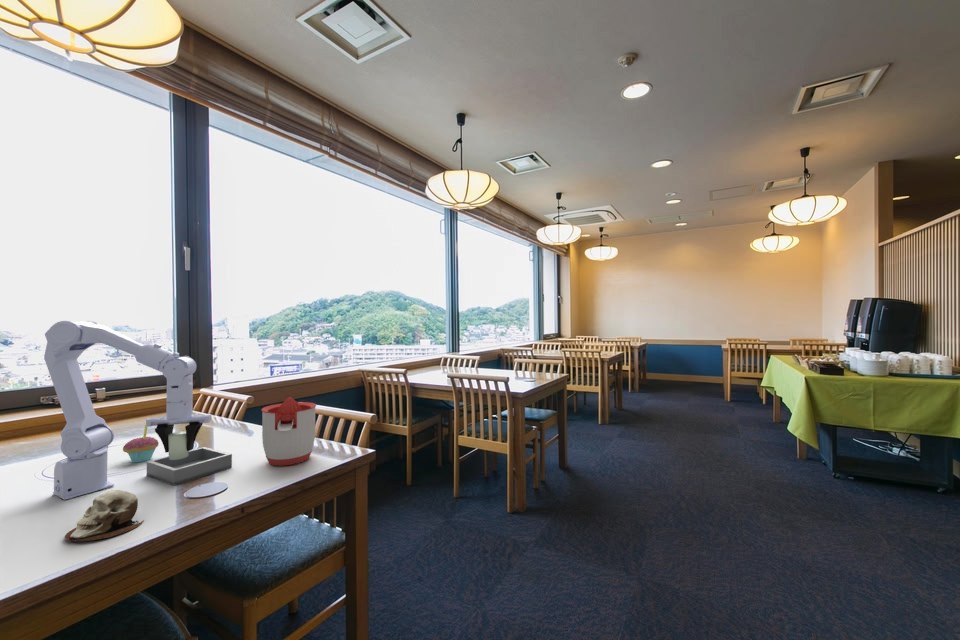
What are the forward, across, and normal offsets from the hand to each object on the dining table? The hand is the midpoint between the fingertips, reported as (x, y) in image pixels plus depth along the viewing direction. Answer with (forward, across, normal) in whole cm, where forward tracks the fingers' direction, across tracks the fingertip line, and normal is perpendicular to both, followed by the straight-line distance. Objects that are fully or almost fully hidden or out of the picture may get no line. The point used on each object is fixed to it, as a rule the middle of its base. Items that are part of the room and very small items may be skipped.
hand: (179, 450), depth 107 cm
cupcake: (+9, -19, +23) cm, 32 cm away
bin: (+8, 0, +7) cm, 11 cm away
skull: (+9, -3, -25) cm, 27 cm away
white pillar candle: (+2, 0, 0) cm, 2 cm away
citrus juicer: (+9, +26, +8) cm, 29 cm away
